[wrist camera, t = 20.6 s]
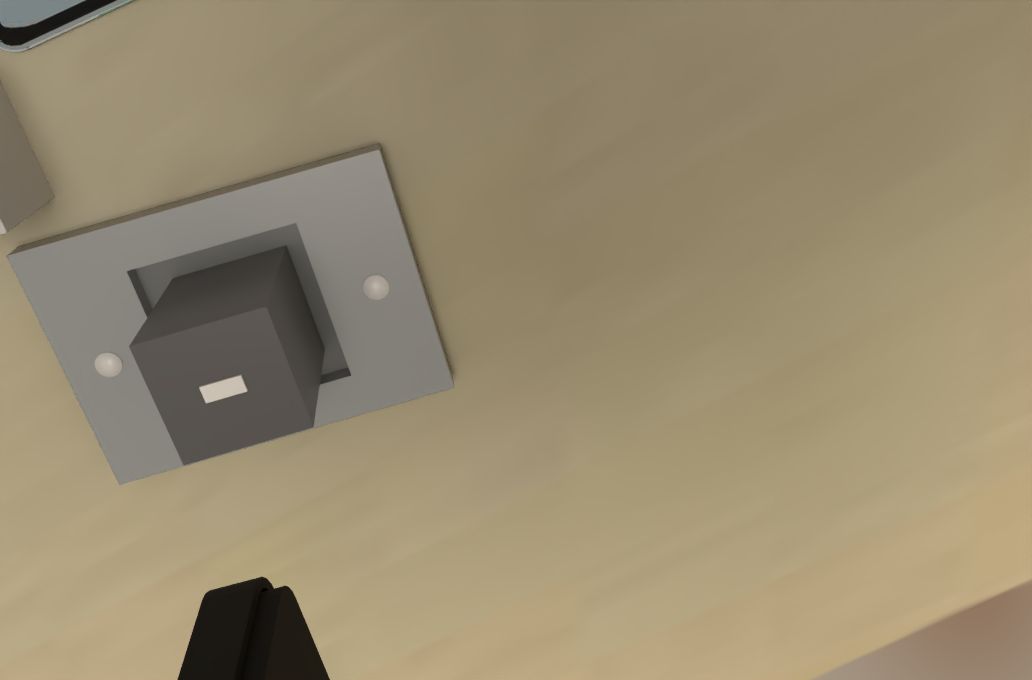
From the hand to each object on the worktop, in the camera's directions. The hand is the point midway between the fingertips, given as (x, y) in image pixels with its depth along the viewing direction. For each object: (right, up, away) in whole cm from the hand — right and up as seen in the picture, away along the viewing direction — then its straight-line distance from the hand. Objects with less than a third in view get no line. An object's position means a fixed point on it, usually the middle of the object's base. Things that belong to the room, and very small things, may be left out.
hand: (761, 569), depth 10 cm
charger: (-13, +3, +28) cm, 31 cm away
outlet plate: (-13, +3, +29) cm, 32 cm away
